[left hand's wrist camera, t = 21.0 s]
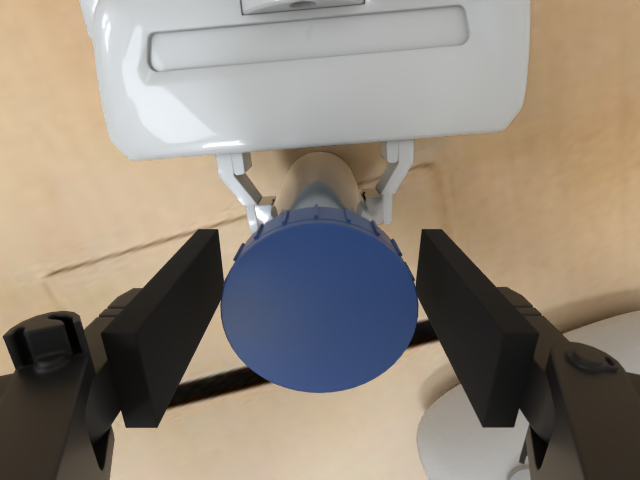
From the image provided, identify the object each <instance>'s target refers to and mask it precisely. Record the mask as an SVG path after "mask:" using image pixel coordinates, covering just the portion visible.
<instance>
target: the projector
mask: <svg viewBox="0 0 640 480" xmlns="http://www.w3.org/2000/svg"><path fill="white" fill-rule="evenodd" d="M563 335H564V336H565V337H566V338H567V339H568V340H569V341H570V342H579V343H583V344H586V345H589V346H593V347H595V348H597V349H599V350H601V351H603V352H606V353H607V354H609V355H610V356H612V357H613V358H614V359H616V360H617V361H618V362H619V363H620V364H621V366H622V367H623V368H624V369H625V371H626V372H630V373H635V374H640V310H639V311H633V312H629V313H625V314H621V315H618V316H614V317H611V318H607V319H604V320H601V321H598V322H595V323H592V324H589V325H586V326H583V327H580V328H577V329H574V330H572V331H569V332H566V333H564V334H563ZM528 426H529V423H528V421H527V419H526V418H525V416H524V415H523V413H522V412H521V410H520V409H519V412H518V415H517V419H516V423H515V426H514V428H483V427H482V425H481V423H480V421H479V419H478V417H477V415H476V413H475V411H474V409H473V407H472V405H471V403H470V401H469V399H468V397H467V395H466V393H465V391H464V389H463V387H462V385H461V383H460V384H459V385H457V386H456V387H454V388H452V389H451V390H449V391H448V392H446V393H445V394H444V395H442V396H441V397H440V398H438V399H437V400H436V401H435V402H434V403H433V404H432V405H431V406H430V407H429V408H428V409H427V410H426V412H425V413H424V415H423V416H422V418H421V420H420V423H419V426H418V430H417V447H418V452H419V456H420V459H421V462H422V465H423V468H424V470H425V473H426V475H427V477H428V479H429V480H531V478H530V470H529V462H528V456H527V457H526V460H525V463H524V464H521V463H519V459H520V454H521V450H522V447H523V443H524V440H525V436H526V433H527V429H528Z"/></svg>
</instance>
